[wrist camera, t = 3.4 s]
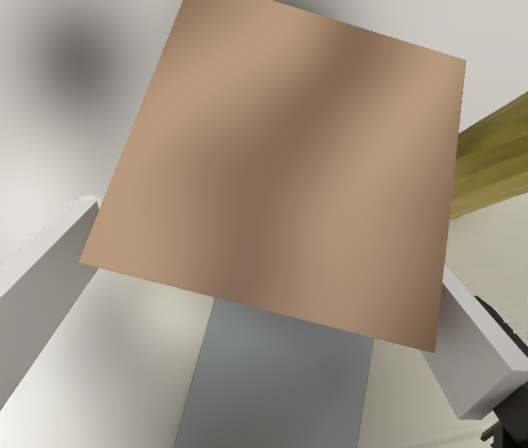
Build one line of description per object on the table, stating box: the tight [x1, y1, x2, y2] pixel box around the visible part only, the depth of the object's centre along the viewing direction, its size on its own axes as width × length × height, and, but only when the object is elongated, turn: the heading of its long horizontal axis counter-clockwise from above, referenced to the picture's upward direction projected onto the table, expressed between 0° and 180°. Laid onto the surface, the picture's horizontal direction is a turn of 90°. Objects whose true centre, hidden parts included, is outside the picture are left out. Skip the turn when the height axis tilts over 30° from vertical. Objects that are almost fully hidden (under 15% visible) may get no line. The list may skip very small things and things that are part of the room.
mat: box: [173, 298, 374, 448], centre depth 19 cm, size 12×12×1 cm
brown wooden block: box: [79, 0, 466, 353], centre depth 15 cm, size 10×10×13 cm
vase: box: [449, 92, 528, 219], centre depth 17 cm, size 6×6×14 cm
